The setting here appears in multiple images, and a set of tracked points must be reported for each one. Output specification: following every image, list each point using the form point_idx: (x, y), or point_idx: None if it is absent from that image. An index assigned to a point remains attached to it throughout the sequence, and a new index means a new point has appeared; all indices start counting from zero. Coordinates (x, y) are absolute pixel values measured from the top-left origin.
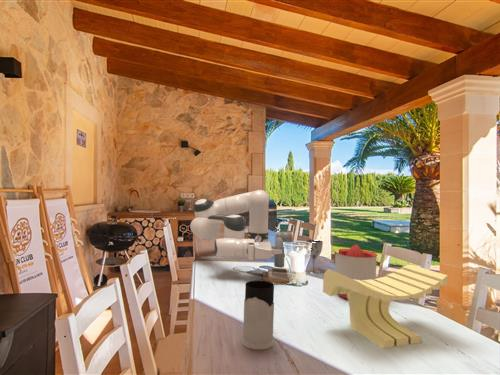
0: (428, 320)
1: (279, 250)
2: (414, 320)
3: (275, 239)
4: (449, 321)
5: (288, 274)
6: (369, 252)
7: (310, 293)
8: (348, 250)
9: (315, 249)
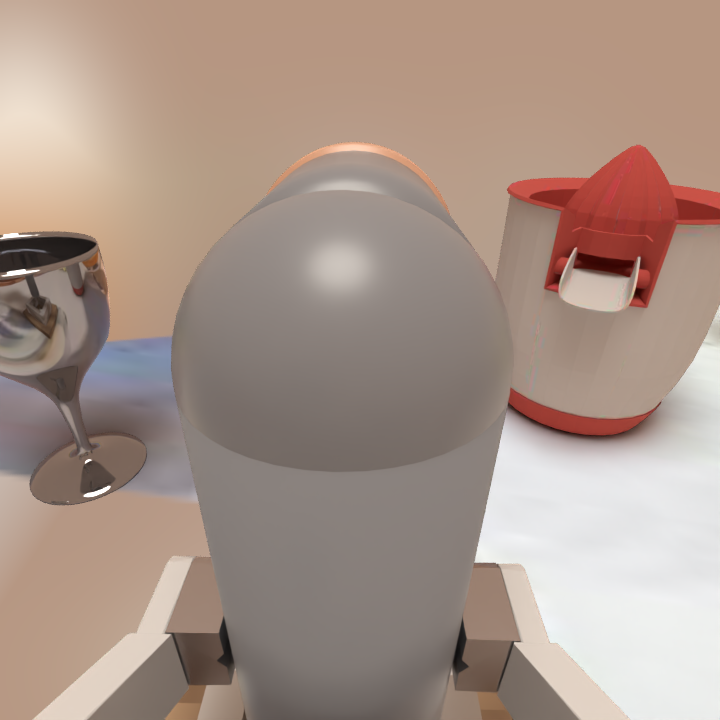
0: None
1: (536, 620)
2: (709, 334)
3: (399, 548)
4: None
5: None
6: (546, 183)
7: (653, 561)
8: (625, 192)
9: (102, 312)
